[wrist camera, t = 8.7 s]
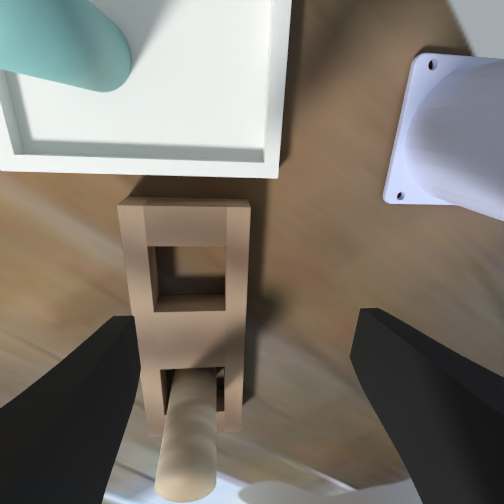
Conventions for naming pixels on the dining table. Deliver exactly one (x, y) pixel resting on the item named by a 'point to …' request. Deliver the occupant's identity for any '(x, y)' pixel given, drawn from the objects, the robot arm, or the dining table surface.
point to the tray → (163, 97)
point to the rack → (187, 299)
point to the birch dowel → (189, 437)
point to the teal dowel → (63, 43)
